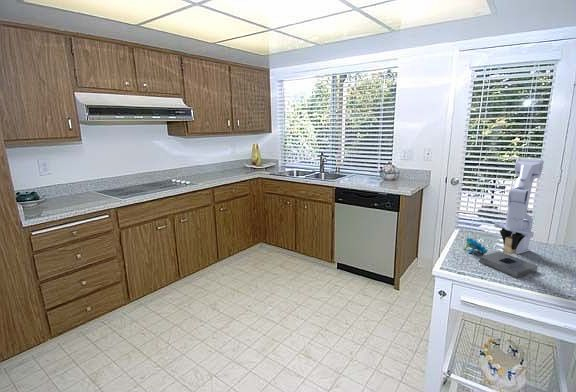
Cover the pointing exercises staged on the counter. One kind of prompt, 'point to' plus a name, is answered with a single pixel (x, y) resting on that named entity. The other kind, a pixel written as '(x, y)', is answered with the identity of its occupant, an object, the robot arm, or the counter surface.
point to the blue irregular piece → (474, 246)
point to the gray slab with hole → (512, 268)
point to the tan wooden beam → (508, 246)
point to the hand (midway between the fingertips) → (510, 247)
